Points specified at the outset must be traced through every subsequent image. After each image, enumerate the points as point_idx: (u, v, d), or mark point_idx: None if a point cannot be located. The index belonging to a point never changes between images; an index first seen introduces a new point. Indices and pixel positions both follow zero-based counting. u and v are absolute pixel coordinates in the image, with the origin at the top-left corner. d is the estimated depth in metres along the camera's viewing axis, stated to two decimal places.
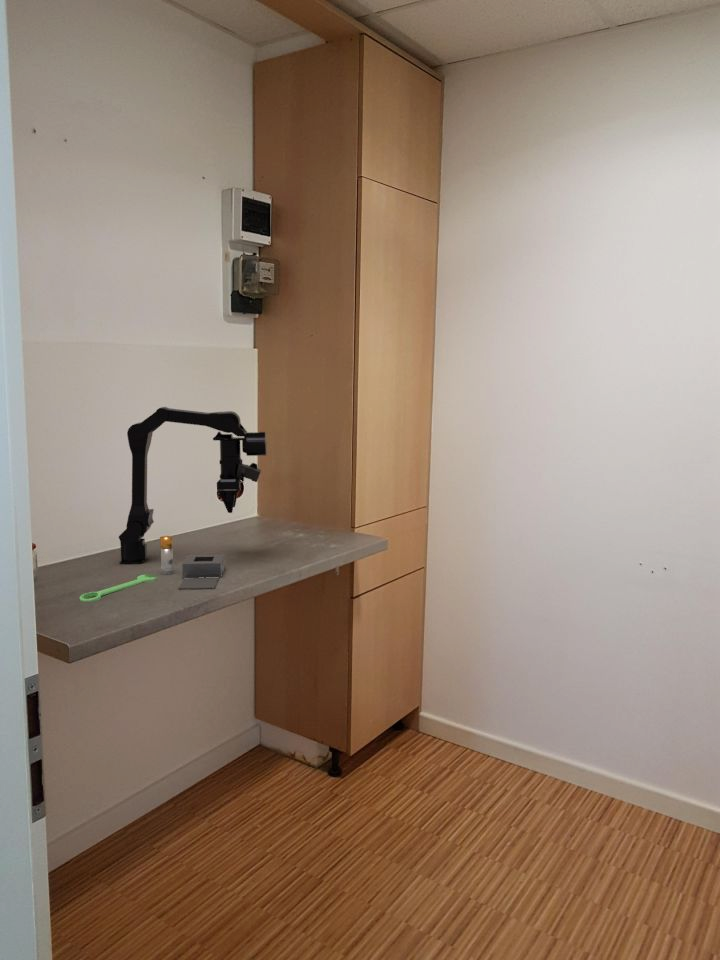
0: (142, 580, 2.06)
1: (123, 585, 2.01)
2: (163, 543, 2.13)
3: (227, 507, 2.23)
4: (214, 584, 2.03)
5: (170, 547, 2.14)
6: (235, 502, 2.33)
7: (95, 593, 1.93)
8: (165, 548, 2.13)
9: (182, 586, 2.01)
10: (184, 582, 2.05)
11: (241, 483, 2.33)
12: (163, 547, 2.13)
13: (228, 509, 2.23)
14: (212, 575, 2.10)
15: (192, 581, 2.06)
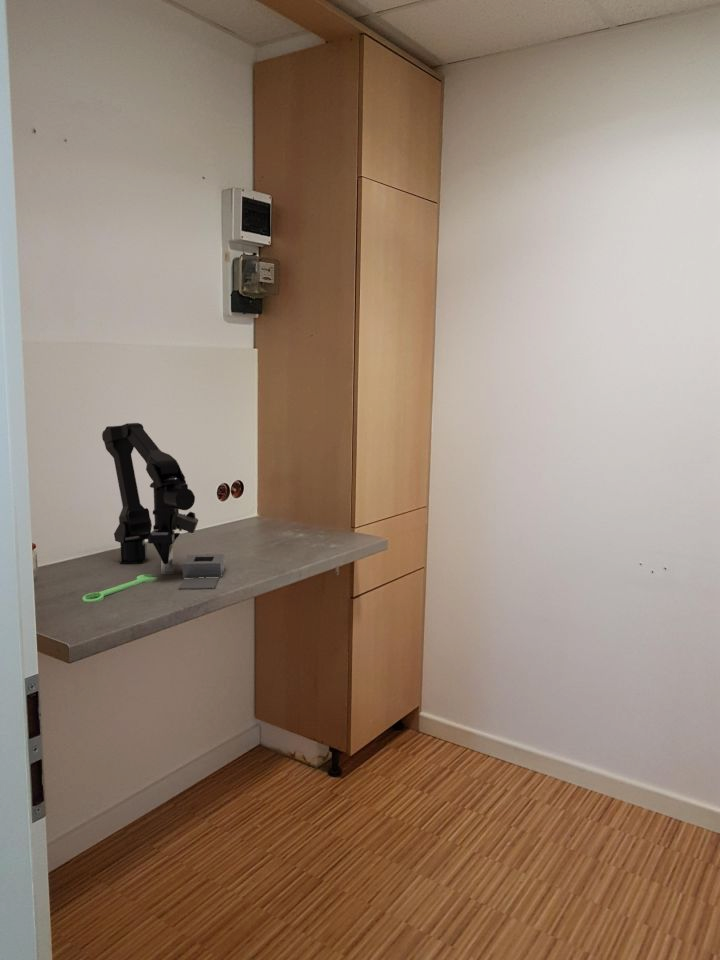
0: (142, 580, 2.06)
1: (124, 585, 2.01)
2: None
3: (162, 558, 2.12)
4: (214, 584, 2.03)
5: (170, 547, 2.14)
6: None
7: (98, 593, 1.93)
8: None
9: (182, 586, 2.01)
10: (184, 582, 2.05)
11: (177, 535, 2.17)
12: None
13: (163, 560, 2.13)
14: (212, 575, 2.10)
15: (192, 581, 2.06)
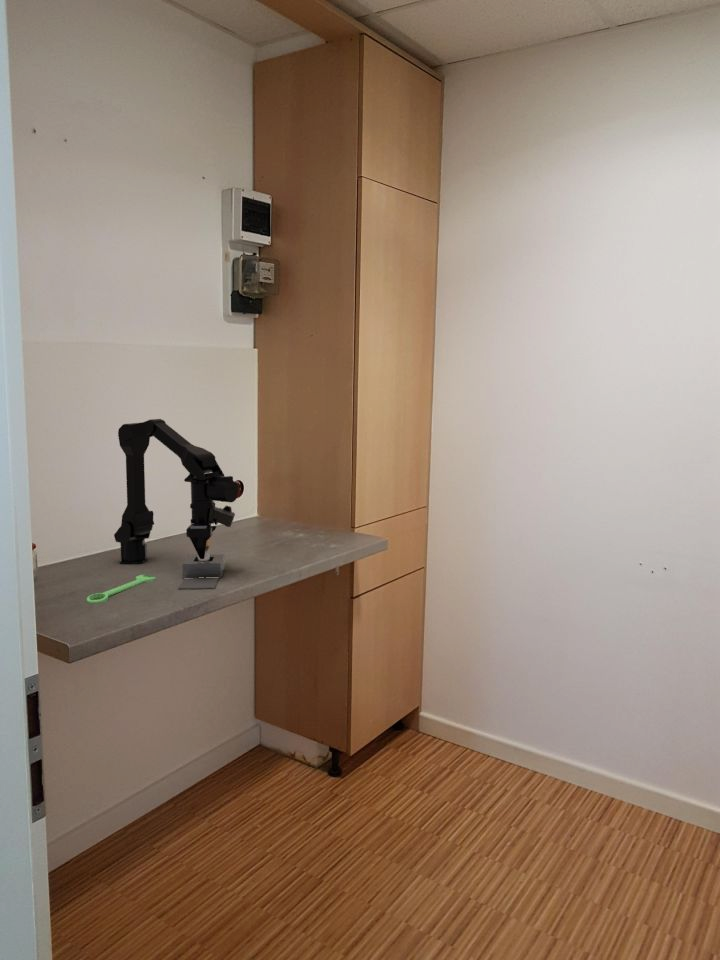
0: (142, 580, 2.06)
1: (126, 585, 2.00)
2: None
3: (199, 553, 2.11)
4: (214, 584, 2.03)
5: (207, 547, 2.13)
6: None
7: (101, 594, 1.92)
8: None
9: (182, 586, 2.01)
10: (184, 582, 2.05)
11: (214, 528, 2.17)
12: None
13: (200, 555, 2.11)
14: (212, 575, 2.10)
15: (192, 581, 2.06)
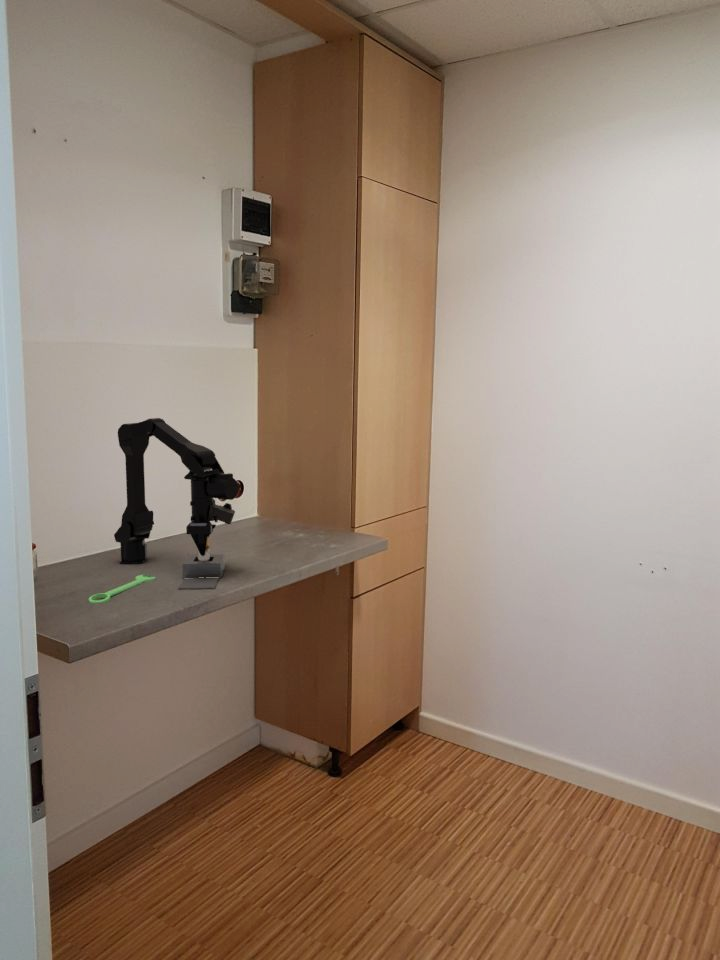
0: (142, 580, 2.06)
1: (127, 586, 2.00)
2: None
3: (199, 549, 2.12)
4: (214, 584, 2.03)
5: (207, 547, 2.13)
6: None
7: (103, 594, 1.92)
8: None
9: (182, 586, 2.01)
10: (184, 582, 2.05)
11: (213, 526, 2.16)
12: None
13: (200, 551, 2.12)
14: (212, 575, 2.10)
15: (192, 581, 2.06)
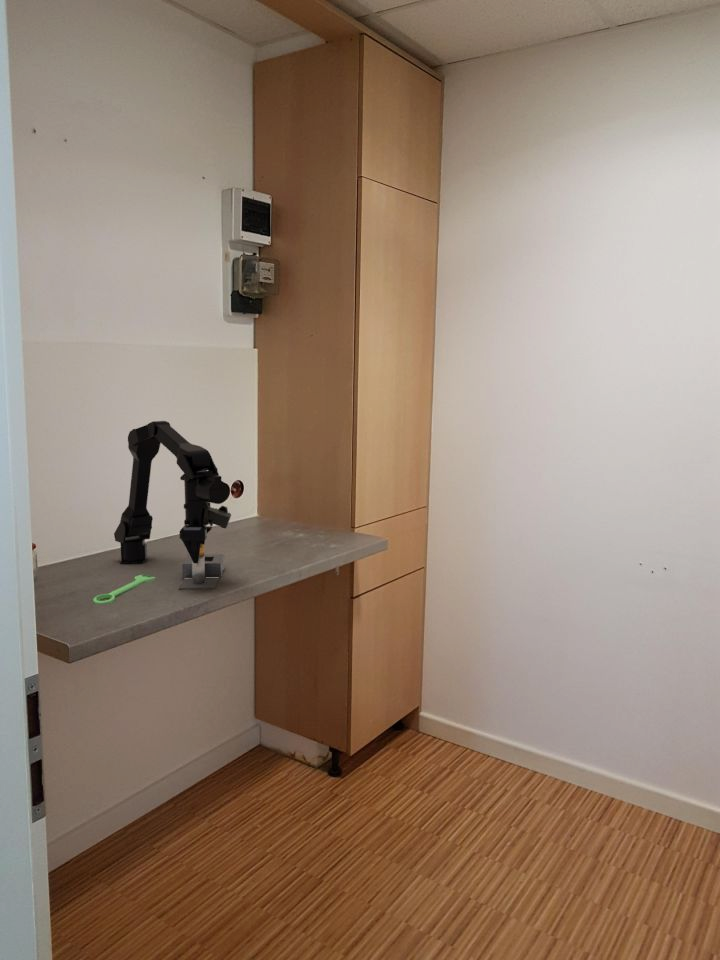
0: (142, 580, 2.06)
1: (128, 586, 2.00)
2: None
3: (192, 557, 1.98)
4: (214, 584, 2.03)
5: (202, 555, 2.02)
6: None
7: (107, 595, 1.92)
8: None
9: (182, 586, 2.01)
10: (184, 582, 2.05)
11: (209, 528, 2.07)
12: None
13: (193, 559, 1.99)
14: (212, 575, 2.10)
15: None
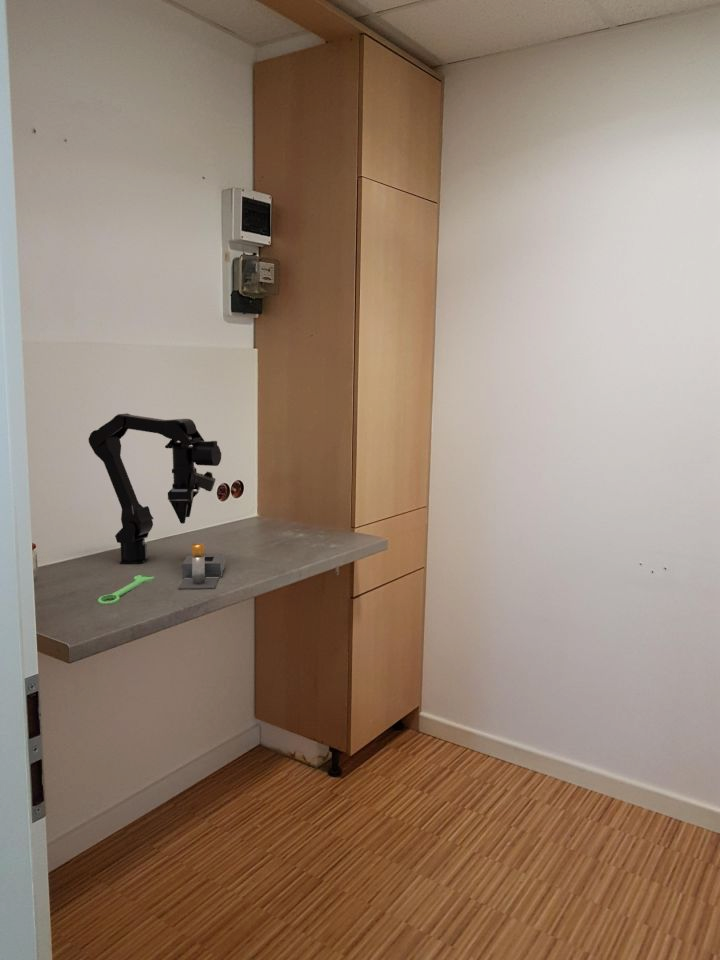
0: (142, 580, 2.06)
1: (130, 586, 2.00)
2: (194, 551, 2.02)
3: (179, 517, 2.16)
4: (214, 584, 2.03)
5: (202, 555, 2.02)
6: (190, 512, 2.26)
7: (111, 595, 1.91)
8: (197, 556, 2.02)
9: (182, 586, 2.01)
10: (184, 582, 2.05)
11: (196, 492, 2.26)
12: (194, 555, 2.02)
13: (180, 519, 2.17)
14: (212, 575, 2.10)
15: None
